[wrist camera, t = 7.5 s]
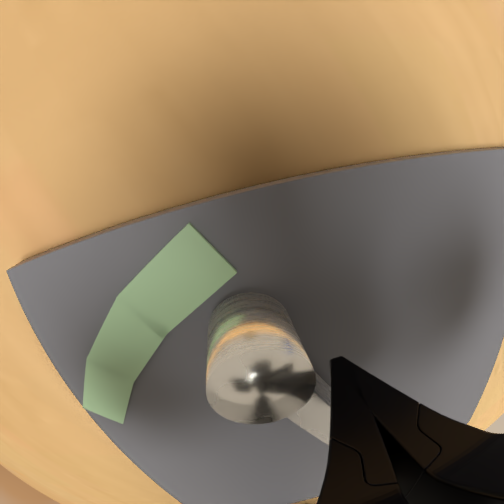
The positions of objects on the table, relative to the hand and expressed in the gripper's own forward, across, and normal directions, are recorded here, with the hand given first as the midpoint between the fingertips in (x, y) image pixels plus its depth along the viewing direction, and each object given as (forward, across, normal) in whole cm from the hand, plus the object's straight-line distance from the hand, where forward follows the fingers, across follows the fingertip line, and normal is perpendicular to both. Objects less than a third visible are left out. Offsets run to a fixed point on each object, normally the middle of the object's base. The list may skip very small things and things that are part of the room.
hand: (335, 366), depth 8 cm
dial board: (+3, -1, +5) cm, 6 cm away
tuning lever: (+1, 0, +4) cm, 4 cm away
